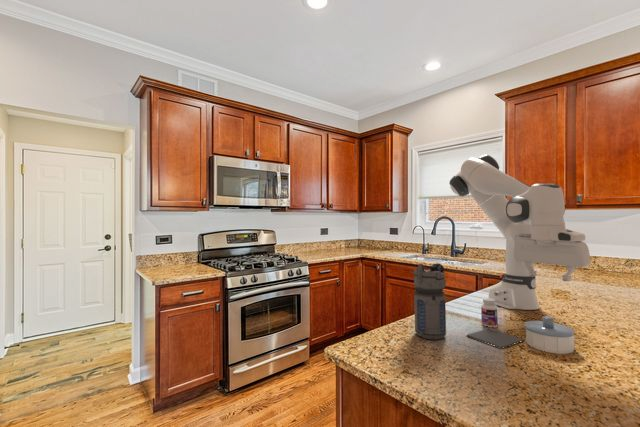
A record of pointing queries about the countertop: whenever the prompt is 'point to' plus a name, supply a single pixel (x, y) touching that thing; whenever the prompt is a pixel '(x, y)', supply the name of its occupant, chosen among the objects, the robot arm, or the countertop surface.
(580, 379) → the countertop surface
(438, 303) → the beverage bottle
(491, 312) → the pill bottle
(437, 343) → the countertop surface
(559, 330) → the lid
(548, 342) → the bowl
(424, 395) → the countertop surface
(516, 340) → the mat
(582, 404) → the countertop surface
